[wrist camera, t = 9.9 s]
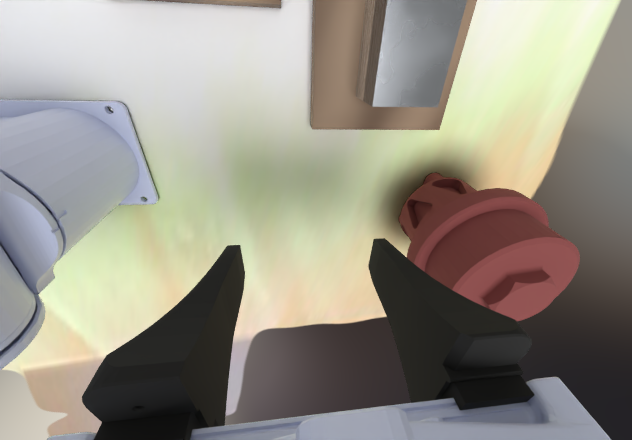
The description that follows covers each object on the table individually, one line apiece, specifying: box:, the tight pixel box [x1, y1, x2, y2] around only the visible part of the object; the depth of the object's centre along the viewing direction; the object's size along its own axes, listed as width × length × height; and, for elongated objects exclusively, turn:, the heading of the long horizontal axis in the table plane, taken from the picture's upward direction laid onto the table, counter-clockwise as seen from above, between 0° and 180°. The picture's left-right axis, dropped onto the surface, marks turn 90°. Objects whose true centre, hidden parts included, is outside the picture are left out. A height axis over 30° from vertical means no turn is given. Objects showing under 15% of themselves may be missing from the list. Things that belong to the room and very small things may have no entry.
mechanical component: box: [399, 173, 580, 321], centre depth 20 cm, size 12×10×10 cm
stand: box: [311, 0, 477, 130], centre depth 17 cm, size 10×11×2 cm
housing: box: [356, 0, 467, 107], centre depth 14 cm, size 4×7×4 cm, turn 178°
